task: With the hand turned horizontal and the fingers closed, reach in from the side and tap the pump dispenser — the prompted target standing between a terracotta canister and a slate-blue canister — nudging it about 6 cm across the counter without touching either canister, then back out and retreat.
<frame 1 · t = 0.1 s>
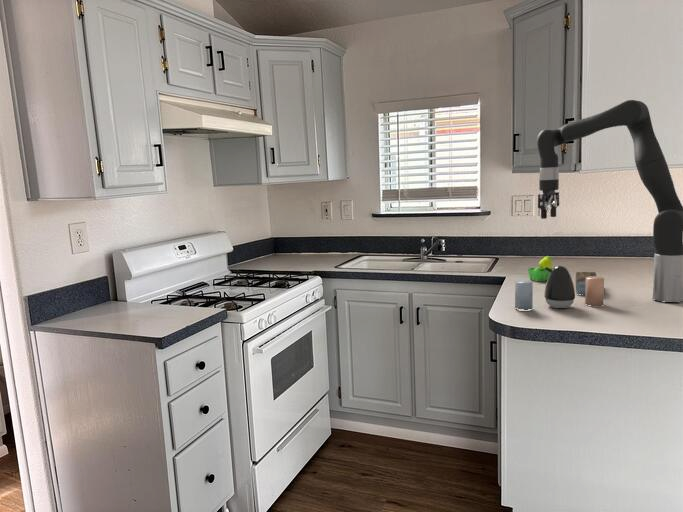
hand: (548, 217, 218), 29 cm above the worktop, tool pointing down, fingers open, 8 cm apart
beverage carton: (586, 291, 211), on the worktop
fruit basket: (543, 280, 235), on the worktop
pump dispenser: (559, 307, 188), on the worktop
terracotta canister: (594, 304, 189), on the worktop
slate-blue canister: (523, 309, 188), on the worktop
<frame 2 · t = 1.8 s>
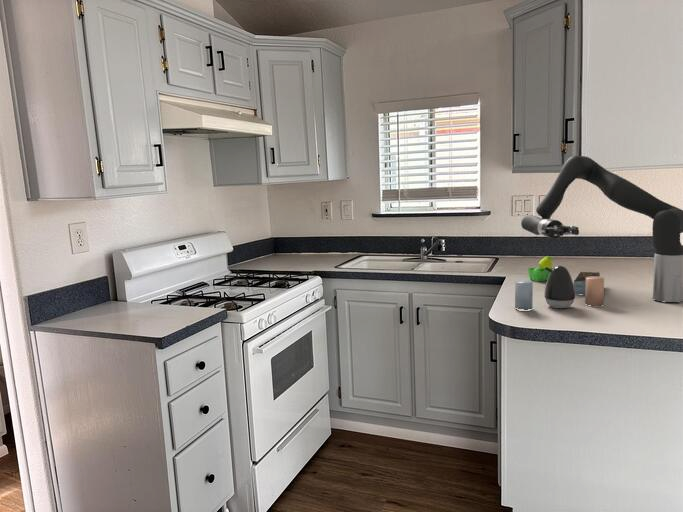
hand: (570, 232, 199), 25 cm above the worktop, tool horizontal, fingers open, 5 cm apart
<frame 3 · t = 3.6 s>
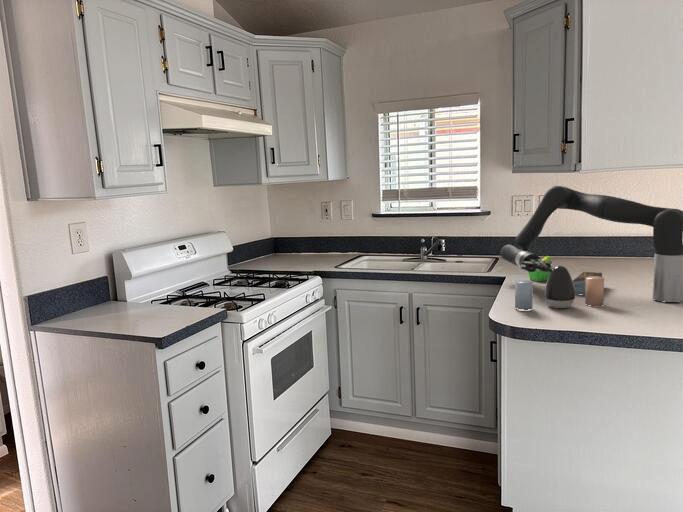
hand: (546, 268, 197), 12 cm above the worktop, tool horizontal, fingers closed
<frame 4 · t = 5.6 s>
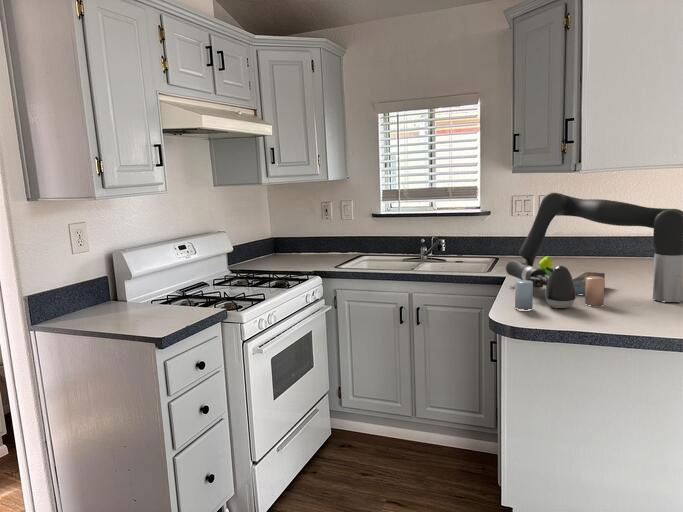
hand: (553, 285, 191), 7 cm above the worktop, tool horizontal, fingers closed
pump dispenser: (559, 307, 188), on the worktop, touching gripper
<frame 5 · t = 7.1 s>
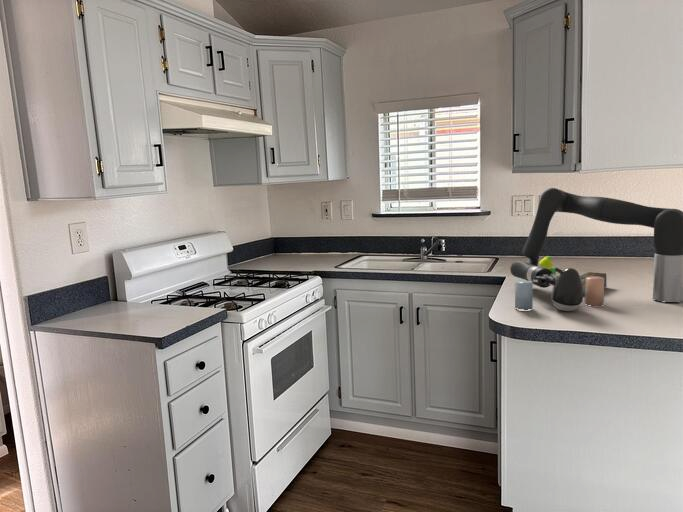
hand: (560, 283, 186), 9 cm above the worktop, tool horizontal, fingers closed
pump dispenser: (564, 308, 184), point 1 cm above the worktop, touching gripper
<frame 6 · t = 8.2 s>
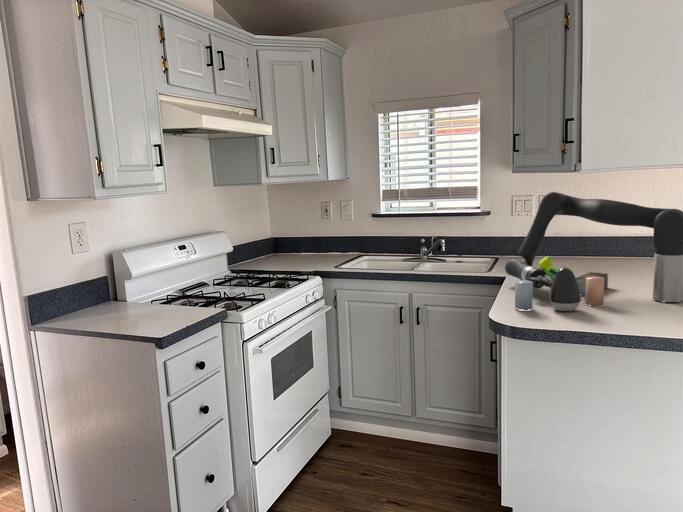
hand: (554, 285, 191), 7 cm above the worktop, tool horizontal, fingers closed
pump dispenser: (564, 310, 184), on the worktop
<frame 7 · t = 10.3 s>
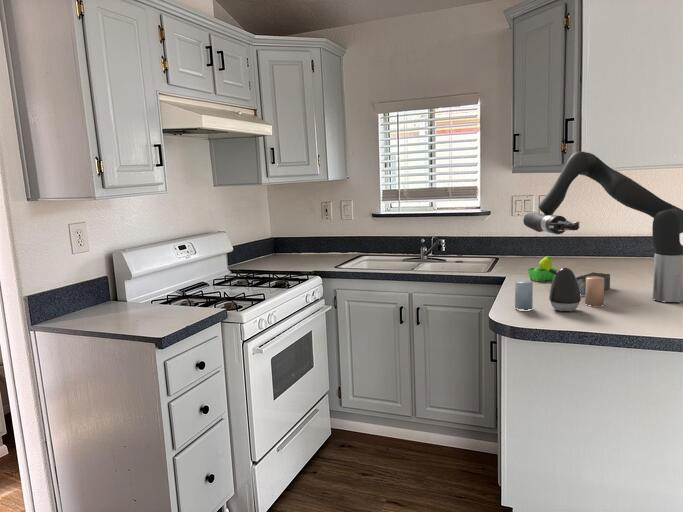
hand: (576, 227, 197), 27 cm above the worktop, tool horizontal, fingers closed
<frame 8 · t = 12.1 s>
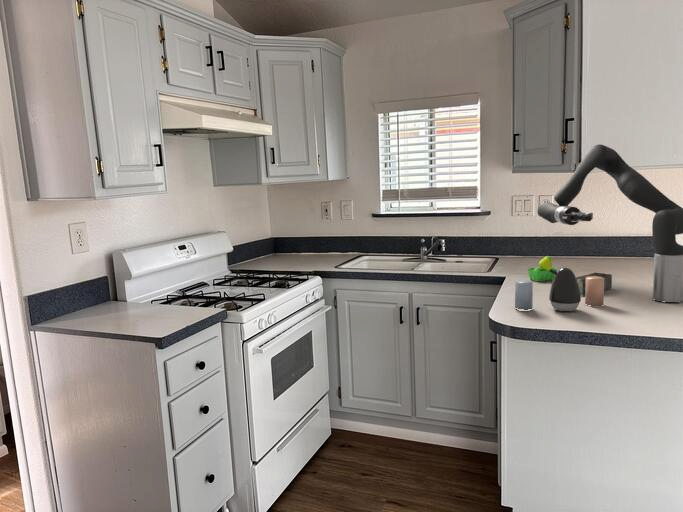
hand: (589, 218, 200), 30 cm above the worktop, tool horizontal, fingers closed
at the end: pump dispenser inside the target area (3.9 cm from its centre), on the worktop; terracotta canister moved 0.0 cm from its start; slate-blue canister moved 0.0 cm from its start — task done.
